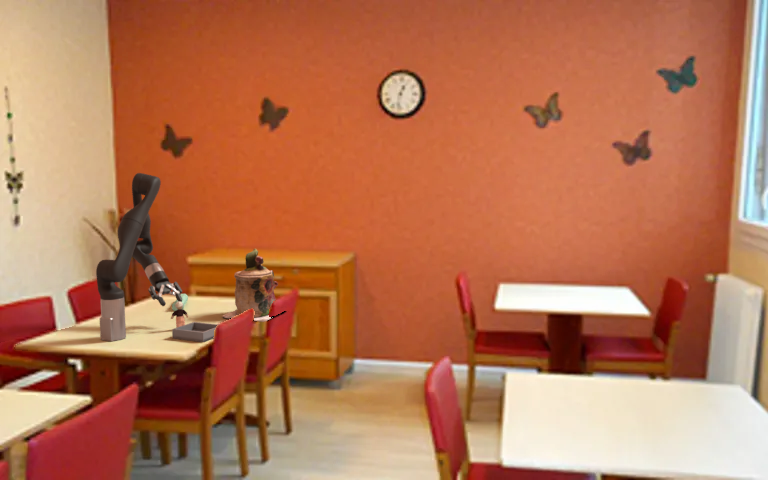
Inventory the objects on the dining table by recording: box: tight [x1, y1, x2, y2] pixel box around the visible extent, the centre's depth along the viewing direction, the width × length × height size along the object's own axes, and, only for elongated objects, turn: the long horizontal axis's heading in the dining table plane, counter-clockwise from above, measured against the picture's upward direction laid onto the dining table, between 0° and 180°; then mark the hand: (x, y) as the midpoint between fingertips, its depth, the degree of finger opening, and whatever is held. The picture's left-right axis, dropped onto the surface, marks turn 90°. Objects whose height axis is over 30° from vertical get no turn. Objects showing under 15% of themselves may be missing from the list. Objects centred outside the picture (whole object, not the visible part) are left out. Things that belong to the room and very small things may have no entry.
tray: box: [171, 321, 219, 343], centre depth 286 cm, size 14×16×4 cm
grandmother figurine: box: [170, 302, 190, 328], centre depth 297 cm, size 8×4×13 cm, turn 132°
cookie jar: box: [222, 248, 279, 323], centre depth 324 cm, size 25×25×32 cm
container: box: [171, 293, 189, 312], centre depth 347 cm, size 6×6×25 cm
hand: (172, 303), depth 299 cm, fingers open, 8 cm apart
